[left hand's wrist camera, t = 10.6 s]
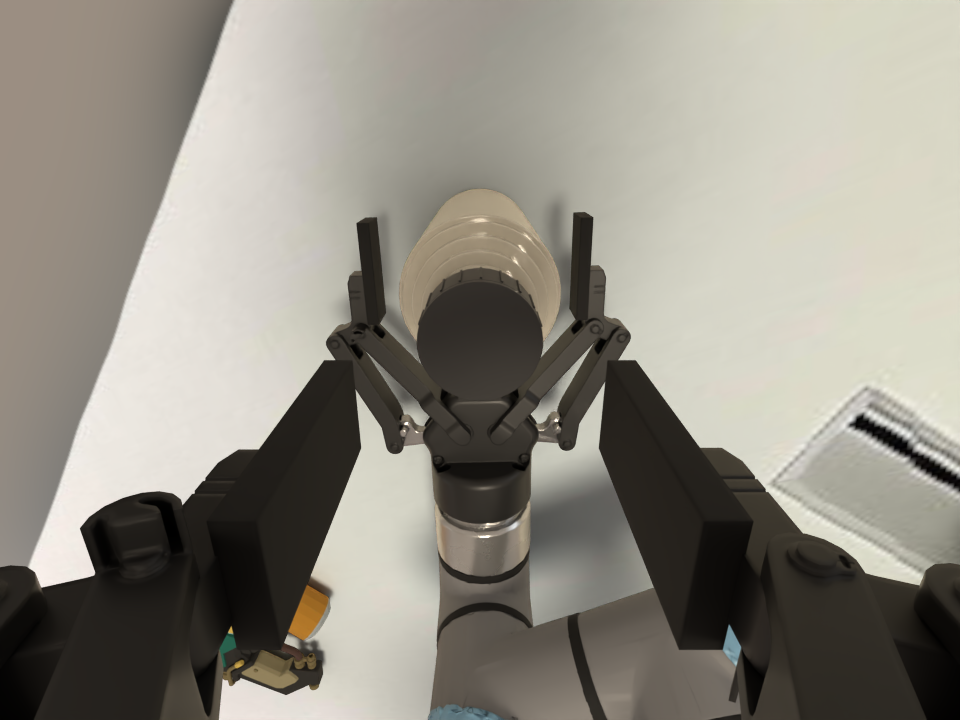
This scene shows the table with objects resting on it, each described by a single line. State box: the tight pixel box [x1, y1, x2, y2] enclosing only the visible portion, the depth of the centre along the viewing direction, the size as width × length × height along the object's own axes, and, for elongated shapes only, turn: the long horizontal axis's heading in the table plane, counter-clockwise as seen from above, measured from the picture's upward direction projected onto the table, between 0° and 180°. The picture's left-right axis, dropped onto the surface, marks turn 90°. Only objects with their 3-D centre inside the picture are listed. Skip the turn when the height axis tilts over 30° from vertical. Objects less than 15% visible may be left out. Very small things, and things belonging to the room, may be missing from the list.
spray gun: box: [219, 585, 330, 695], centre depth 52 cm, size 4×17×15 cm
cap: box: [417, 267, 543, 400], centre depth 20 cm, size 5×5×2 cm
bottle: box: [399, 189, 561, 342], centre depth 30 cm, size 8×8×22 cm
